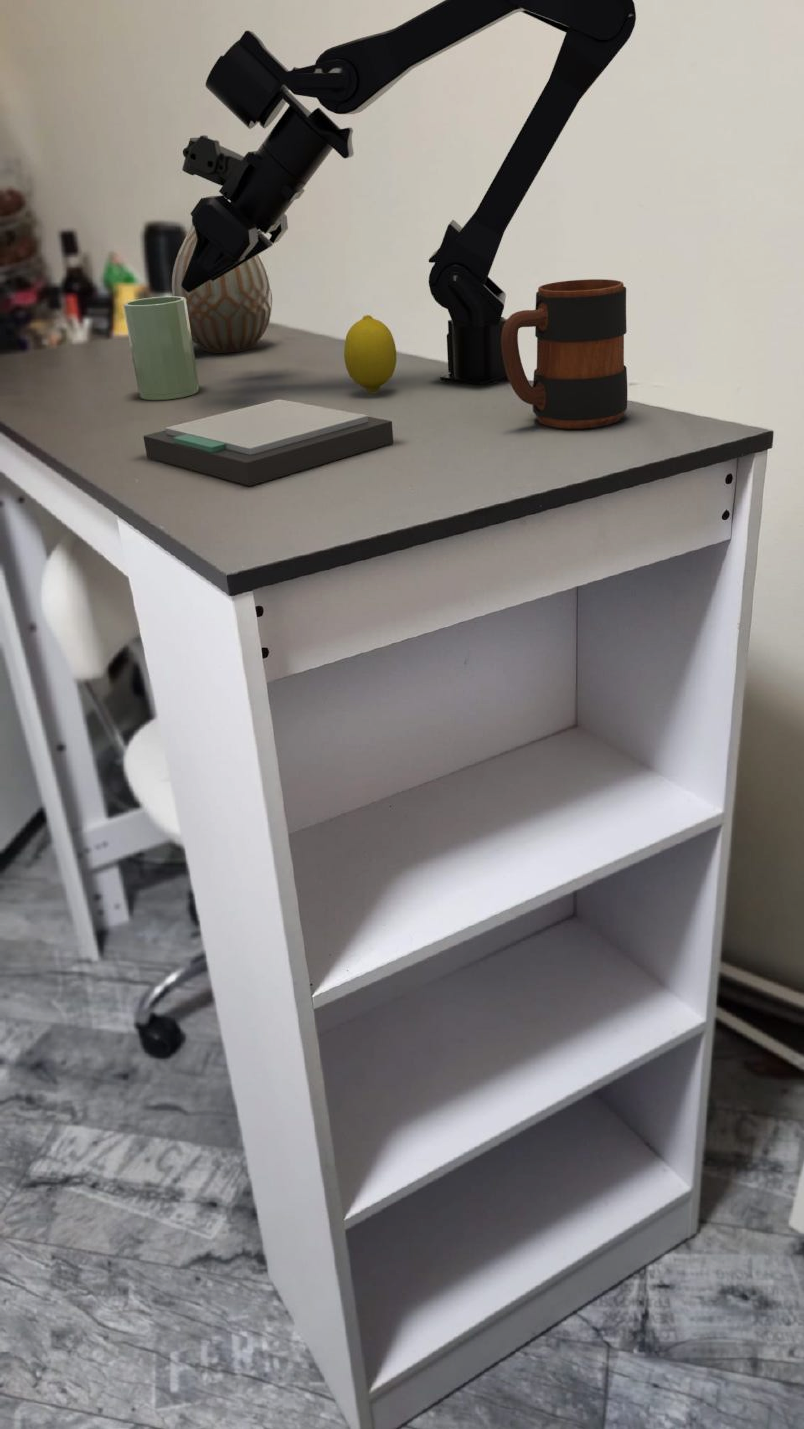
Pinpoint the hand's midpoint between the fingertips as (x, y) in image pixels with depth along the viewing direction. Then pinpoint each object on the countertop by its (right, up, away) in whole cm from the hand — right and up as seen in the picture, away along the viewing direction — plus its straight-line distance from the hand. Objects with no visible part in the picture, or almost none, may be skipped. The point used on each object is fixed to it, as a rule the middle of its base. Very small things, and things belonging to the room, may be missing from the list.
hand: (197, 283), depth 119 cm
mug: (+37, -20, -18) cm, 46 cm away
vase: (-1, +3, +30) cm, 31 cm away
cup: (-4, -10, +6) cm, 13 cm away
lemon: (+19, -12, -1) cm, 23 cm away
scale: (+10, -23, -20) cm, 32 cm away
